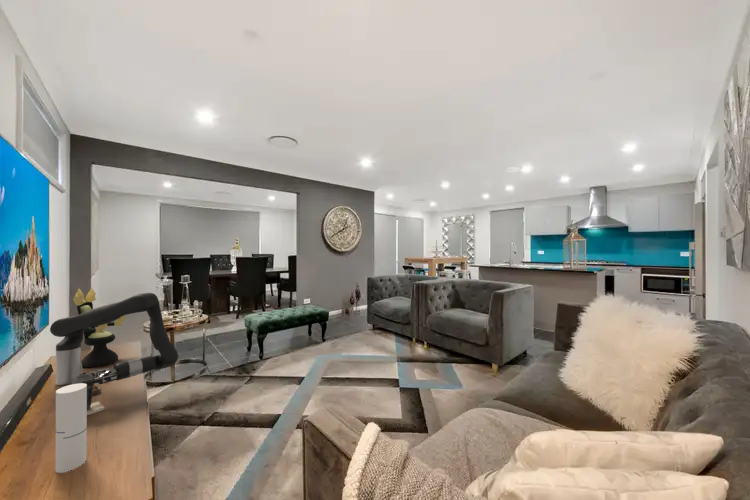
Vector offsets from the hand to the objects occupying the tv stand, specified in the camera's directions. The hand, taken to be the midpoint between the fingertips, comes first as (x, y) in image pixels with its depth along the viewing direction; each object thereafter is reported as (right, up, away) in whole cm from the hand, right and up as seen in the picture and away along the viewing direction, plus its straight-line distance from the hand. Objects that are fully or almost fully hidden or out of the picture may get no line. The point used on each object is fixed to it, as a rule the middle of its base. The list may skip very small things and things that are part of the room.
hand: (80, 381), depth 131 cm
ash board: (0, -13, +1) cm, 14 cm away
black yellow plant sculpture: (-43, -12, +54) cm, 70 cm away
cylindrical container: (+26, -14, -30) cm, 42 cm away
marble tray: (-13, -13, +17) cm, 25 cm away
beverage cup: (0, -13, +1) cm, 13 cm away
